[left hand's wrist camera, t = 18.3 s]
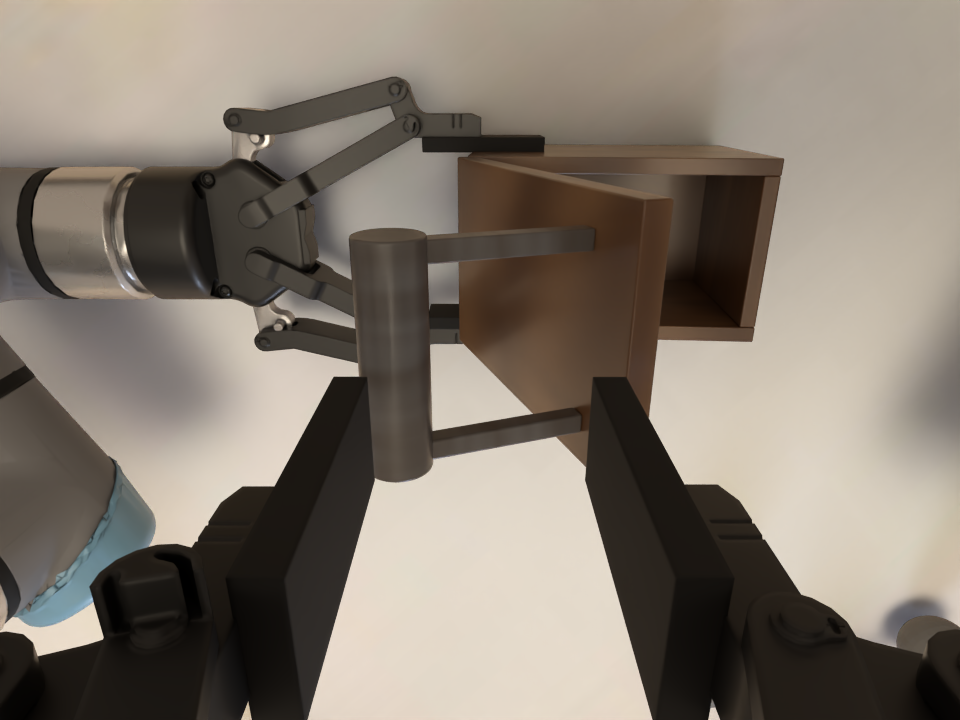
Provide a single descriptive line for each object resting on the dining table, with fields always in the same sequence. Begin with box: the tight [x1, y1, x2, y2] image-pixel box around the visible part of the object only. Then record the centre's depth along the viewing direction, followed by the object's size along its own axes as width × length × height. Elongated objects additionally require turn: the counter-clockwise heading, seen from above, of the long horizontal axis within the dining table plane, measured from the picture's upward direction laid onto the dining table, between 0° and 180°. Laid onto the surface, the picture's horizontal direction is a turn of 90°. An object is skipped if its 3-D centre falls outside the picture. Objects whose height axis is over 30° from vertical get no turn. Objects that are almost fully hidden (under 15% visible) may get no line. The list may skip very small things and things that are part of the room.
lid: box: [349, 157, 674, 482], centre depth 24 cm, size 16×9×8 cm
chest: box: [468, 145, 784, 342], centre depth 37 cm, size 15×9×10 cm, turn 90°
